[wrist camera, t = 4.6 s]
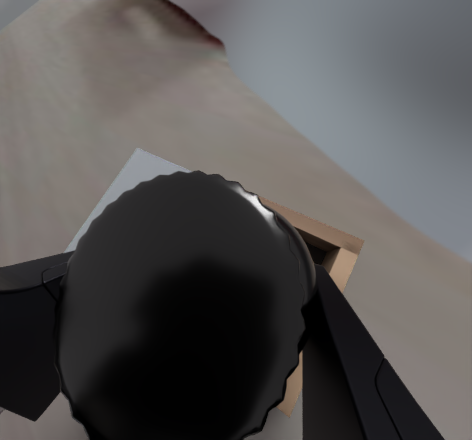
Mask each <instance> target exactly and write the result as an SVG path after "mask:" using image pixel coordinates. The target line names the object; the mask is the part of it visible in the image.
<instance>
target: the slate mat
mask: <svg viewBox="0 0 472 440" xmlns="http://www.w3.org/2000/svg"><path fill="white" fill-rule="evenodd" d="M177 171H183V172H186V173H190V172H192V171H190V170H187V169H185V168H183V167H180V166H178V165H176V164H173V163H171V162H169V161H166V160H164V159H162V158H160V157H157V156H155V155H153V154H150V153H148V152H146V151H143V150H141V149H139V148H137V149H136V150H135V152H134V153H133V155H132V156H131V157H130V159H129V160H128V162H127V163H126V165H125V166H124V167H123V169H122V170H121V172H120V173H119V175H118V176H117V177H116V179H115V180H114V182H113V183H112V185H111V186H110V187H109V189H108V190H107V192H106V193H105V195H104V196H103V197H102V199H101V200H100V202H99V203H98V205H97V206H96V207H95V209H94V210H93V212H92V213H91V215H90V216H89V217H88V219H87V220H86V222H85V223H84V225H83V226H82V227H81V229H80V230H79V232H78V233H77V235H76V236H75V237H74V239H73V240H72V242H71V243H70V245H69V246H68V247H67V249H66V250H65V252H64V253H66V252H70V251H74V250H75V249H76V246H77V243H78V241H79V239H80V238H81V237H82V235H84V234H85V233H86V232H87V230H88V228H89V226H90V224H91V222H92V220H94V219H95V218H96V217H98V216H99V215H100V214H101V213H102V212H103V210H104V209H105V207H106V206H107V205H108V204H110V203H112V202H114V201H116V200H117V199H118V197H119V196H120V195H121V194H122V193H123V192H125V191H127V190H131V189H133V188H134V187H135V186H136V185H138V184H139V183H140V182H143V181H149V180H152V179H153V178H155V177H156V176H158V175H170V174H172V173H174V172H177Z"/></svg>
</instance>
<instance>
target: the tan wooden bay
mask: <svg viewBox="0 0 472 440" xmlns="http://www.w3.org/2000/svg"><path fill="white" fill-rule="evenodd" d="M245 191H246V190H245ZM259 198H260V200H261V202H262V203H263V204H265V205H267V206H269V207H271V208H272V209H274V210H276V211H277V212H278V213H280V214H281V215H282V216H284V217H285V218H286V219H287V220H288V221H289V222H290V223H291V224H292V225H293V226H294V228H295V229H296V230H297V231H298V233H299V234H300V235H301V237H302V239H303V240H304V242H307V243H309V244H311V245H313V246H315V247H317V248H319V249H321V250H324V251H326V252H327V253H326V255H325V258H324V260H323V262H322V264H321V265H322V266H324V267H325V269H326V270H327V272H328V273H329V275H330V276H331V278H332V279H333V281H334V282H335V284H336V285H337V286H338V288H339V289H340V291H341V292H342V293H343V290H344V288H345V285H346V283H347V281H348V278H349V276H350V274H351V271H352V269H353V267H354V264H355V262H356V260H357V257H358V255H359V253H360V250H361V248H362V245H363V243H364V240H362V239H359V238H357V237H354V236H352V235H350V234H347V233H345V232H343V231H340V230H338V229H336V228H333V227H331V226H328V225H326V224H324V223H321V222H319V221H317V220H314V219H312V218H310V217H307V216H305V215H302V214H300V213H298V212H295V211H293V210H291V209H288V208H286V207H284V206H281V205H279V204H277V203H274V202H272V201H269V200H267V199H265V198H262V197H260V196H259ZM301 389H302V351H301V353H300V355H299V365H298V367H297V368H296V369H295V371H294V372H293V373H292V375H291V376H290V377H289V378H288V379H287V388H286V394H285V399H284V401H282V402H281V403H280V404H279V405H278V406H276V407H277V408H278V409H279V410H281V411H282V412H283V413H284V414H285V415H287V416H288V417H290V415H291V413H292V410H293V408H294V406H295V403H296V401H297V399H298V396H299V394H300V391H301Z"/></svg>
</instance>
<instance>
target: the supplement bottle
mask: <svg viewBox="0 0 472 440" xmlns="http://www.w3.org/2000/svg"><path fill="white" fill-rule="evenodd" d="M317 295H318V282H317V275H316V270H315V266H314V263H313V260H312V257H311V254H310V252H309V250H308V248H307V246H306V244H305V242H304V240H303V239H302V237H301V235H300V234H299V233H298V231H297V230H296V229H295V228H294V226H293V225H292V224H291V223H290V222H289V221H288V220H287V219H286V218H285V217H284V216H282V215H281V214H280V213H278V212H277V211H276V210H274V209H272V208H271V207H269V206H267V205H265V204H263V203H262V202H261V200H260V198H259V196H258V195H257V194H254V193H252V192H248V191H245V190H244V188H243V187H242V186H241V184H240V183H239V182H235V181H227V180H225V179H224V178H223V177H222V176H221V175H219V174H212V175H207V174H205V173H203V172H201V171H199V170H198V171H193V172H190V173H186V172H183V171H177V172H174V173H172V174H170V175H158V176H156V177H155V178H153V179H152V180H149V181H143V182H140V183H139V184H138V185H136V186H135V187H134V188H133V189H131V190H127V191H125V192H123V193H122V194H121V195H120V196H119V197H118V199H117V200H116V201H114V202H112V203H110V204H108V205H107V206H106V207H105V209H104V210H103V212H102V213H101V214H100V215H99V216H98V217H96V218H95V219H94V220H92V222H91V224H90V226H89V228H88V230H87V232H86V233H85V234H84V235H82V237H81V238H80V239H79V241H78V243H77V246H76V249H75V252H74V253H73V254H72V255H71V257H70V258H69V260H68V263H67V268H66V273H65V275H64V276H63V278H62V280H61V282H60V286H59V297H58V300H57V302H56V305H55V308H54V315H55V324H54V328H53V333H52V338H53V342H54V346H55V355H54V365H55V367H56V369H57V371H58V373H59V379H60V391H61V393H62V394H63V395H64V397H65V398H66V399H67V400H68V402H69V406H70V411H71V415H72V418H73V419H74V420H76V421H77V422H78V423H80V424H81V425H83V428H84V430H85V432H86V435H87V437H88V440H244V438H246V437H248V436H250V435H255V434H257V433H259V432H261V431H262V429H263V427H264V425H265V422H266V419H267V416H268V412H269V411H270V410H271V409H272V408H274V407H276V406H278V405H279V404H280V403H281V402H282V401H284V399H285V394H286V388H287V379H288V378H289V377H290V376H291V375H292V373H293V372H294V371H295V369H296V368H297V367H298V365H299V355H300V353H301V351H302V350H303V348H304V347H305V345H306V343H307V341H308V339H309V337H310V334H311V331H312V329H313V326H314V321H315V316H316V308H317Z"/></svg>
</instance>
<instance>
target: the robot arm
mask: <svg viewBox="0 0 472 440" xmlns="http://www.w3.org/2000/svg"><path fill="white" fill-rule="evenodd" d="M74 252H75V250H74V251H70V252H66V253H62V254H58V255H54V256H49V257H45V258H41V259H36V260H32V261H28V262H23V263H19V264H15V265H11V266H6V267H0V414H1V413H2V412H3V411H4V410H5V409H6V410H8V411H11V412H13V413H15V414H18V415H20V416H22V417H25V418H27V419H29V420H32V421H34V422H35V421H36V420H37V419H38V418H39V417H40V416H41V415H42V414H43V413H44V411H45V410H46V409H47V408H48V406H49V405H50V404H51V403H52V402H53V400H54V399H55V398H56V397H57V396H58V394H59V393H60V392H61V391H60V379H59V373H58V371H57V369H56V367H55V365H54V355H55V346H54V342H53V338H52V333H53V328H54V324H55V315H54V308H55V305H56V302H57V300H58V297H59V286H60V282H61V280H62V278H63V276H64V275H65V273H66V268H67V263H68V260H69V258H70V257H71V255H72V254H73V253H74ZM314 266H315V270H316V275H317V282H318V295H317V308H316V316H315V321H314V326H313V329H312V331H311V334H310V337H309V339H308V341H307V343H306V345H305V347H304V348H303V350H302V397H303V440H445V439H444V438H443V437H442V435H441V434H440V433H439V431H438V430H437V429H436V427H435V426H434V425H433V423H432V422H431V421H430V419H429V418H428V417H427V415H426V414H425V413H424V411H423V410H422V409H421V407H420V406H419V404H418V403H417V402H416V400H415V399H414V398H413V396H412V395H411V393H410V392H409V390H408V389H407V388H406V386H405V385H404V383H403V382H402V380H401V379H400V378H399V376H398V375H397V373H396V372H395V370H394V369H393V367H392V366H391V364H390V363H389V362H388V360H387V359H386V358H384V354H383V353H382V351H381V350H380V348H379V347H378V345H377V344H376V343H375V341H374V340H373V338H372V337H371V335H370V334H369V332H368V331H367V329H366V328H365V326H364V325H363V323H362V322H361V320H360V319H359V317H358V316H357V315H356V313H355V312H354V310H353V309H352V307H351V306H350V304H349V303H348V301H347V300H346V298H345V297H344V295H343V294H342V292H341V291H340V289H339V288H338V286H337V285H336V284H335V282H334V281H333V279H332V278H331V276H330V275H329V273H328V272H327V270H326V269H325V267H324V266H322V265H319V264H315V263H314Z"/></svg>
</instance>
